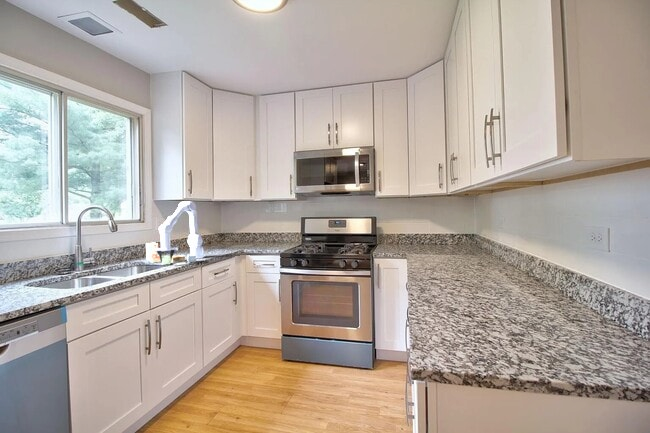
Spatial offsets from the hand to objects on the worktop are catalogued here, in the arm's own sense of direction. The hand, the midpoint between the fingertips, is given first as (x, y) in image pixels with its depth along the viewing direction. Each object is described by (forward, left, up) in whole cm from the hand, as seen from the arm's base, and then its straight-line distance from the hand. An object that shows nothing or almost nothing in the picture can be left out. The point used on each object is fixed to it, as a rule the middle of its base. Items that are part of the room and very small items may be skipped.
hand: (166, 261), depth 203 cm
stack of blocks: (+7, -22, -2) cm, 24 cm away
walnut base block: (-8, -8, -2) cm, 11 cm away
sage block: (0, 0, -1) cm, 1 cm away
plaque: (-8, +8, -2) cm, 11 cm away
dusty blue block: (-16, +1, -2) cm, 16 cm away
